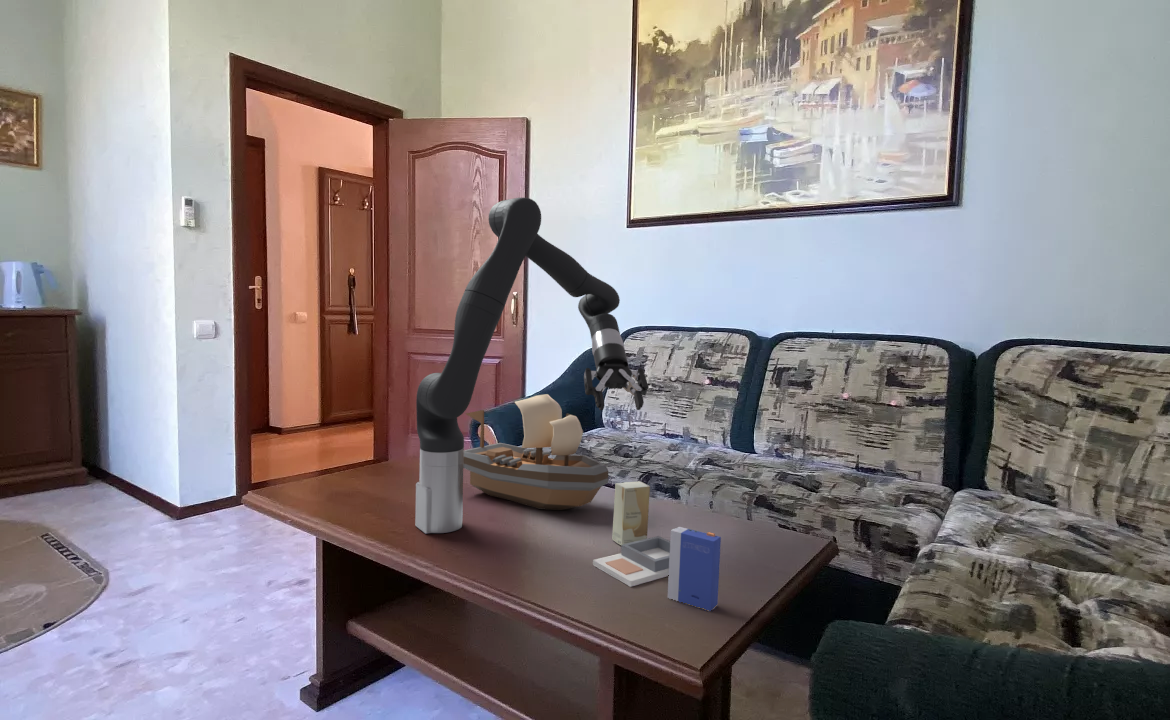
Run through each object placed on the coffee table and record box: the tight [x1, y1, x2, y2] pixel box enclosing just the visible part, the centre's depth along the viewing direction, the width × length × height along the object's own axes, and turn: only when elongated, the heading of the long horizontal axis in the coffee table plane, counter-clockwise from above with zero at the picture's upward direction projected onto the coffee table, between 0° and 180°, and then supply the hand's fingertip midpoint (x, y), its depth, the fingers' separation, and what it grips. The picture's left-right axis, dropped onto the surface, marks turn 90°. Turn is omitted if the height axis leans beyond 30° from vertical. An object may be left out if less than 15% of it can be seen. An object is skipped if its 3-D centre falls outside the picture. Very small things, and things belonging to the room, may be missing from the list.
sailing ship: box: [463, 393, 609, 511], centre depth 158 cm, size 16×45×27 cm, turn 55°
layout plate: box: [592, 535, 670, 588], centre depth 118 cm, size 16×11×3 cm
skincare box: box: [611, 480, 651, 547], centre depth 131 cm, size 6×4×12 cm
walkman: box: [667, 526, 722, 612], centre depth 104 cm, size 8×3×12 cm, turn 54°
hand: (621, 408), depth 138 cm, fingers open, 8 cm apart
